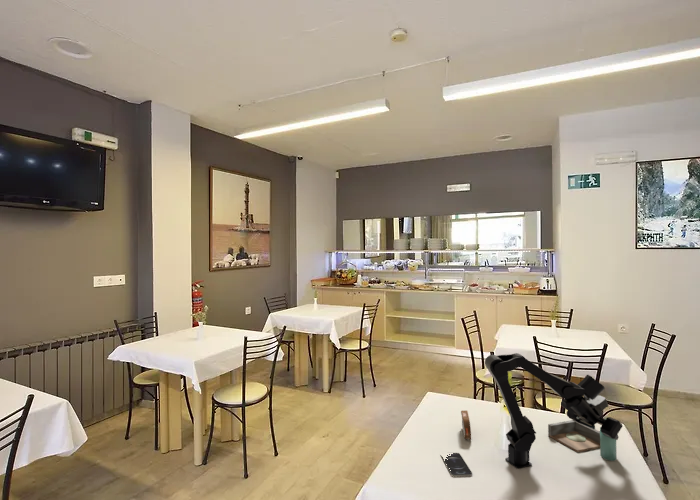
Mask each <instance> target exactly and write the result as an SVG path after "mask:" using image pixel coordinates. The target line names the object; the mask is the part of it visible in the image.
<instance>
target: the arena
mask: <svg viewBox="0 0 700 500" xmlns="http://www.w3.org/2000/svg"><path fill="white" fill-rule="evenodd" d="M547 427H548V428H547V429H548V430H547V431H548V433H547V434H548V437H550V438H551V439H553V440H554V441H556V442H557V443H558V442H559V444H561V445H564V446H565V447H567V448H569V449H571V450H572V451H574V452H576V453H582V452H586V451H591V450H596V449H600V430H598V429H596V428H595V429H592V428H590V427H587V426H585V425H583V424H580V423H578V422H576V421H574V420H572V419H571V420H566V421H558V422H555V423H554V422H553V423H548V425H547Z"/></svg>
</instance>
